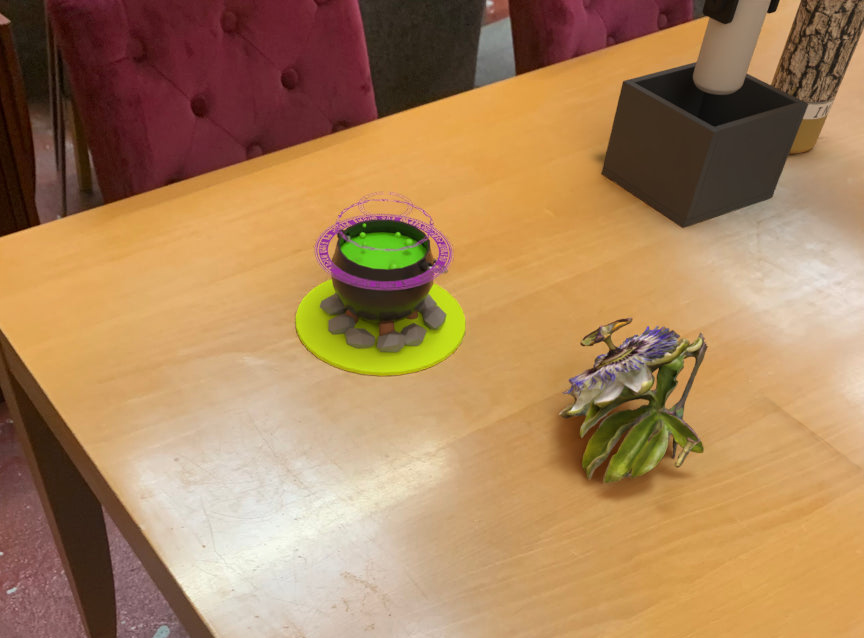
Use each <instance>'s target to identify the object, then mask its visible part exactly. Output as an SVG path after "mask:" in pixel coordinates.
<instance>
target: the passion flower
mask: <svg viewBox="0 0 864 638" xmlns="http://www.w3.org/2000/svg"><path fill="white" fill-rule="evenodd" d="M633 318H634V317H630V316H629V317H627V318H620V319H617V320H614V321H612V322H610V323H607V324H604V325H602V324H601V325H599V327H598V328H597V329H595V330H593V331H591V332H589V333H588V334H586V335H585V336H584V337H583V338H582V340H581V341H580V342H579V343H580V346H581V347H593V346H594V345H597V344H599V343H601V342H603V343H605V345H606V346H607V348H608V352H607V353H604V354H603V353H602V354H599V355H597V356H596V357H595V359H594V364H593V366H592V367H591V368H588V369H586V370H584V371H582V372H580V373H578V374H576V375H575V376H574V377H571V378H569V379H568V382H569V383H570V388H569V389H567V390H565V391H563V392H561V394H562V395H570V396H571V397H572V398H573V399H574V402H572V403H569V404H568V405H567V406H565V407H564V408H563V409H562V410H561V411H560V412H559V413H558V416H559V417H560V418H562V419H566V420H568V419H571V418H575V417H583V416H585V418H584V420H583V423H582V424H581V426H580V427H579V437H580V439H583V438H584V437H585V435H586V434H587V433H588V431H589V430H590V429H592V427H595V426H596V424H598V422H599V421H600V420H601V419H602V420H601V421H600V423H599V426H598V428H597V429H595V431H594V432H593V433H592V435H591V436H590V438H589V439H588V442H587V444H586V447H585V450H584V452H583V453H582V459H581V468H582V469H583V470H584V472H585V473H586V478H587V480H591V479H592V477H593V474H594V472H595V470H596V469H597V468H599V467H600V466H602V464H603V463H604V462H605V461H606V460H607V459H608V458H609V456H610V454H611V452H612V450H613V449H614V447H615V446H616V445H617V443H619V440H620V439H621V437H622V436H623V434H625V433H626V432H627V431H628V432H627V433H626V434H625V436H624V439H623V440H622V441H621V444H620V445H619V447H618V449H617V452H616V453H615V454H612V456H611V457H610V460H609V463H608V465H607V467H606V469H605V472H604V475H603V478H602V483H603V484H611V483H615V482H621V481H623V480H625V479H627V478H630V479H634V478H635V479H636V478H639V477H642V476H643V475H646V474H647V473H649V472H651V471H652V470H653V469H654V468H656V466H658V464H659V463H660V462H661V461H662V459H664V457H665V455H666V452H667V450H668V447H669V441H670V438H671V437H672V459H675V458H676V452H677V448H678V445H679V446H680V448H682V451H681V452H680V453H679V454H678V456H677V460H676V461H675V462H674V468H675V467H676V468H680V467H681V466H682V465H683V463H684V461H685V460H686V459H687V456H688V455H689V454H690V452H691V453H696V454H703V453H704V451H705V449H704V448H705V447H704V444H703V441H702V440H701V438H700V436H699V435H698V434H697V432H696V431H695V430H694V429H693V428H692V427H691V426H690V425H689V424H688V423H687V422H686V421H685V420H684V414H685V404H686V401H687V399H688V396H689V394H690V391H691V389H692V387H693V384H694V380H695V379H696V376H697V373H698V371H699V369H700V367H701V365H702V363H703V361H704V359H705V355H706V352H707V349H708V347H709V346H708V345H707V343H706V341H705V339H706V337H704V334H703V333H702V332H699V333H698V337H697V338H696V339H695V340H694V341H693V342H692V343H690V341H689V340H688V339H686V338H684V337H681V335H680V334H678V333H677V332H676V331H675V330H674V329H672V330H670V328H669V327H666V326H662V327H661V328H660V326H659V325H655V327H654V328H653V329H650V326H649V325H647V326H646V328H645V330H644V331H643V332H642V333H640V335H639V334H634V335H633V336H629V337H625V339H624V340H623V341H622V343H621V344H620V345H619V346H616V345H615V344H614V343H613V340H612V336H613V334H614V333H615V332H617V331H619V330H620V329H622V328H623V327H625V326H627V325H630V324H631V323H632V322H633V320H634V319H633ZM688 358H694V359H695V362H694V366H693V368H692V371H691V373H690V376H689V378H688V380H687V382H686V385H685V387H684V390H683V392H682V394H681V397H680V399H679V400H678V401H677V402H676V403H675V404H674V405H672V406H671V407H670V408H669V409H668V408H666V402H667V400H668V398H669V396H671V394H672V393H673V392H674V391H675V390H676V388H677V386H678V384H679V381H678V380H677V378H678V376H679V374H680V373H681V372H682V370H683V369H684V368H685V361H684V360H685V359H688ZM655 371H657V374H656V377H655V376H654V374H653V373H654V372H655ZM655 381H656V385H655ZM654 385H655V386H656V387H655V389H653V390H651V389H652V387H654ZM637 400H645V401H648V403H647V404H641V406H638V407H637V408H636V409H628V408H627V409H623V410H619V411H615V412H613V413H611V414H610V415H608V414H609V413H610V412H612V411H613V410H615V409H616V408H618V407H620V406H621V405H623V404H625V403H626V404H627V403H628V402H631V401H637ZM607 415H608V416H607Z"/></svg>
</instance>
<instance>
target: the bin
mask: <svg viewBox="0 0 864 638" xmlns="http://www.w3.org/2000/svg"><path fill="white" fill-rule="evenodd" d="M696 63H697V61H695V62H690V63H688V64H684V65H678V66H676V67H673V68H668V69H664V70H660V71H657V72H653V73H652V72H651V73H649V74H645V75H641V76H638V77H637V76H636V77H633V78H630V79H625V80H623V81H622V84H621V88H620V92H619V97H618V100H617V105H616V109H615V114H614V118H613V122H612V125H611V130H610V135H609V139H608V143H607V148H606V152H605V157H604V161H603V164H602V168H601V175H603V176H604V177H606V178H608V179H609V180H610V181H612V182H614V184H617V185H618V186H620V187H621V188H622V189H624V190H626V191H627V192H629V193H630V194H632V195H633V196H635V197H636V198H638V199H639V200H641V201H642V202H643V203H644V204H645V203H646V204H647V205H648V206H650V207H651V208H653V209H654V210H656V211H657V212H659V213H660V214H662V215H663V216H664V217H667V218H668V219H670V220H671V221H672V222H674V223H676V224H677V225H679V226H680V227H681V228H687V227H690V226H693V225H695V224H698V223H701V222H705V221H708V220H710V219H714V218H716V217H719V216H722V215H725V214H728V213H731V212H733V211H736V210H739V209H742V208H745V207H749V206H751V205H755V204H757V203H760V202H763V201H765V200H769V199H771V198H773V197H774V194H775V192H776V188H777V185H778V184H779V181H780V178H781V175H782V173H783V170H784V168H785V166H786V162H787V160H788V158H789V155H790V150H791V148H792V145H793V143H794V140H795V137H796V135H797V132H798V130H799V127H800V125H801V122H802V120H803V117H804V115H805V112H806V109H807V107H808V103H806V102H804V101H802V100H800V99H798V98H796V97H794V96H792V95H790V94H788V93H786V92H784V91H781V90H779V89H777V88H775V87H773V86H771V84H769V83H768V82H766V81H763V80H761V79H759V78H757V77H755V76H753V75H751V74H749V73H747V74H746V77H745V80H744V83H743V85H742V86H741V88H740V89H738V90H737V91H736V92H734V93H732V94H728V95H716V94H710V93H706V92H704V91H702V90H700V89H699V88H698V87H696V85H695V83H694V80H693V73H694V70H695V66H696Z"/></svg>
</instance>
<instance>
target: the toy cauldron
mask: <svg viewBox="0 0 864 638" xmlns="http://www.w3.org/2000/svg"><path fill="white" fill-rule="evenodd" d="M375 195H377V196H381V195H383V192H380V193H378V191H376V192H374V194H373V192H371V193H368V194H367V197H369V198H371V197H374V196H375ZM388 195H389V196H390V195H391V196H392V195H394V196H395V197H399V198H401V199H402V200H397V199H394V200H392V202H395V203H397V204H398V203H399V204H404V205H407V206H409V207H407V209H406V211H404V212H403V214H404V215H402V214H393V213H385V215H383V213H376V214H371V213H370V212H368V211H367V210H366V209H365V207H364V205H363V204H365V203H366V204H367V203H368V202H371V199H366V195H364V196H363V197H361V198H360V200H359V201H358V202H356V203H353V204H351V205H350V206H348V207H345V208H343V210H342V211H340V214H338V215H337V219H336V220H335V223H334V224H332V225H331V226H328V227H326V228H325V229H324V231H323V232H321V233H320V234H319V236H318V238H317V239H316V240H315V245H314V248H315V253H314V256H315V259H316V261H317V263H318V264H319V266H320V267H321V269H323V270H324V271H325V272H326V273H327V274H328V275H329V276H330V279H327V280H325V281H323V282H321V283H320V284H318V285H316V286H315V287H314V288H312V289H311V290H310V291H308V293H306V295H305V296H304V297H303V298H302V300H301V301H300V303H299V305H298V306H297V309H296V312H295V313H296V314H295V318H294V319H295V320H294V322H295V323H294V324H295V331H296V333H297V335H298V336H297V337H298V338H299V340H300V342H301V343H302V344H303V345H304V347H305V348H306V350H307V351H309V352H310V353H311V354H313V356H315V357H316V358H317V359H319V360H321V361H323V362H325V363H326V364H328V365H330V366H332V367H335V368H337V369H341V370H343V371H346V372H350V373H356V374H359V375H366V376H377V377H378V376H381V377H384V376H385V377H386V376H401V375H406V374H407V375H408V374H413V373H417V372H420V371H423V370H426V369H429V368H432V367H434V366H435V365H438V364H440V363H442V362H443V361H445V360H446V359H447V358H448V357H451V355H452V354H454V353H455V352H456V351H457V350H458V348H459V346H460V345H461V344H462V342H463V341H464V337H465V335H466V322H467V321H466V317H465V312H464V310H463V308H462V307H461V305H460V303H459V301H458V300H457V299H456V298H455V297H454V296H453V295H452V294H451V293H450V292H449V291H447V290H446V289H444V288H443V287H441V286H440V285H439V284H437V283H435V282H434V281H435V279H436V278H438V277H440V276H442V275H446V274H447V273H449V269H450V267H451V266H450V265H451V263H453V262H454V260H455V257H453V255H452V253H453V251H455V249H454V248H453V247H454V245H453V243H452V241H450V238H449V237H447V236H446V235H445V234H443V233H442V231H441V230H440V229H437V227H434V226H435V223H434V220H433V218H432V217H431V215H430V214H428V212H427V211H426V210H424V209H422V208H421V207H420V206H417V205H415V204H413V201H412V200H410V198H408V197H407V196H404V195H402V194H400V193H398V192H396V194H395V192H394V191H391V192H389V193H388ZM405 198H406V199H405ZM364 199H365V200H364ZM403 200H404V201H403ZM373 201H374V202H381V201H382V202H385V201H386V202H389V198H376V199H375V198H374V199H373ZM360 205H362V206H360ZM356 206H357V207H358V209H359V211H360V212H361V213H362V214H361V215H355V216H351V217H348V218H345V219H341V218H342V216H343V214H345V213H346V212H347V211H348V210H350V209H351V208H354V207H356ZM362 209H363V211H362ZM413 209H417V210H420V212H422V214H423V215H424V216H426V217H427V218H430V219H429V220H428V221H429V223H427V222H425V221H423V220H420V219H417V218H414V217H410V216H408V215H409V214H410V212H413ZM364 210H365V211H364ZM409 210H410V212H409ZM335 236H336V237H337V241H336V245H335V250H334V252H333V255H332V258H331V257H330V255H329V245H330V243H331V241H332V239H333V238H334V237H335ZM430 237H431V238H432V239H433V241H434V242H435V243H436V246H437V249H438V257H437V259H435V258H434V255H433V252H432V249H431V240H430Z"/></svg>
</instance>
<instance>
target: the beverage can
mask: <svg viewBox="0 0 864 638" xmlns="http://www.w3.org/2000/svg"><path fill="white" fill-rule="evenodd" d="M770 2H771V0H739V2H738V5H737V8H736V11H735V15H734V18H733V20H732V22H731V23H728V24H723V23H720V22H718V21H716V20H714V19H712V18H710V17H708V20H707V24H706V28H705V31H704V35H703V38H702V41H701V45H700V49H699V52H698V56H697V59H696V62H697V63H696V66H695V70H694V73H693V80H694V83H695V85H696V87H698V88H699V89H700V90H702V91H704V92H706V93H710V94H716V95H728V94H732V93H734V92H736V91H737V90H738V89H740V88H741V86H742V85H743V83H744V80H745V77H746V74H748V71H749V67H750V65H751V63H752V62H751V61H752V58H753V55H754V53H755V49H756V47H757V43H758V41H759V37H760V35H761V31H762V29H763V26H764V23H765V19H766V17H767V14H768V13H767V11H768V8H769V5H770Z"/></svg>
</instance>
